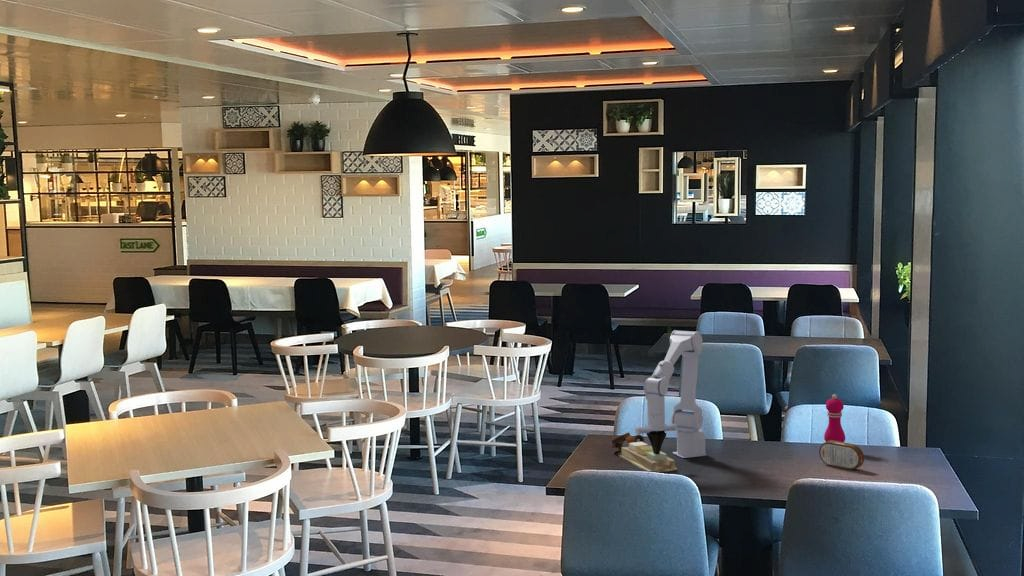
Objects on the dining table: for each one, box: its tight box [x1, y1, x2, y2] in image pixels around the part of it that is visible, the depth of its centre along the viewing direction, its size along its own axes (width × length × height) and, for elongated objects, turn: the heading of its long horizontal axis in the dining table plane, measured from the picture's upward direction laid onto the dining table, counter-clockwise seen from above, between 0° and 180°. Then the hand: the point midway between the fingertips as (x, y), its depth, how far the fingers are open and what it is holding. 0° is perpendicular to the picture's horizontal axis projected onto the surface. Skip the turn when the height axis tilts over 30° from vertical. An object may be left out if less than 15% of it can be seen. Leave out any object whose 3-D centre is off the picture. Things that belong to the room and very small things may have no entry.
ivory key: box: [628, 441, 649, 452], centre depth 348 cm, size 5×5×2 cm
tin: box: [818, 440, 865, 471], centre depth 330 cm, size 15×3×8 cm, turn 43°
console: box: [618, 446, 678, 473], centre depth 341 cm, size 10×24×3 cm, turn 18°
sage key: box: [647, 450, 668, 461], centre depth 334 cm, size 5×5×2 cm
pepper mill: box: [823, 393, 846, 443], centre depth 354 cm, size 7×7×20 cm
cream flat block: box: [637, 444, 653, 456], centre depth 341 cm, size 5×5×2 cm
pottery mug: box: [611, 432, 645, 451], centre depth 358 cm, size 12×10×8 cm
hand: (656, 453), depth 334 cm, fingers closed, pressing on sage key
